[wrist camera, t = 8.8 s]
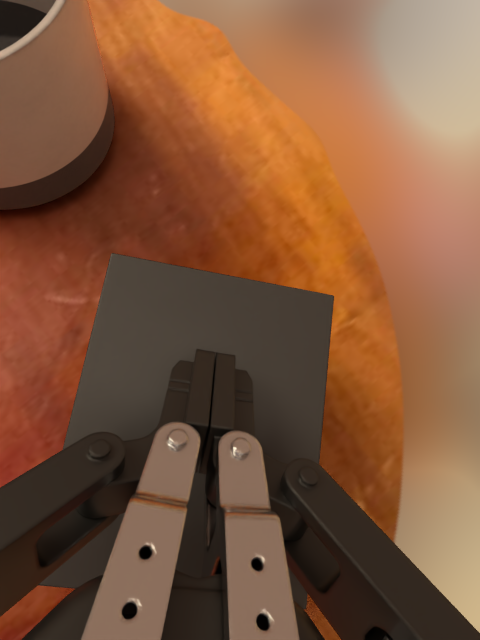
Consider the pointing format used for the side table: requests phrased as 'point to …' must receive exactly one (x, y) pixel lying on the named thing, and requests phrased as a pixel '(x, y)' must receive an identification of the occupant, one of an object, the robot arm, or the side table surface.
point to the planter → (50, 100)
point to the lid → (180, 344)
